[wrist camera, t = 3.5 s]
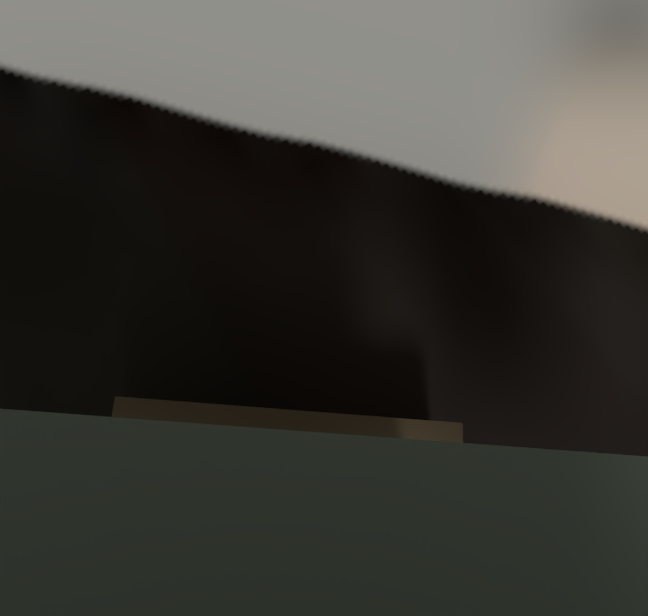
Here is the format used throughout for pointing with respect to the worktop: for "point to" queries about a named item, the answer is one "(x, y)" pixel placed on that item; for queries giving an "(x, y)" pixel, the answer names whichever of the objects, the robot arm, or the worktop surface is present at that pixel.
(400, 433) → the rack
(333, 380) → the worktop surface
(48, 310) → the worktop surface
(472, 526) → the panel
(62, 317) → the worktop surface
